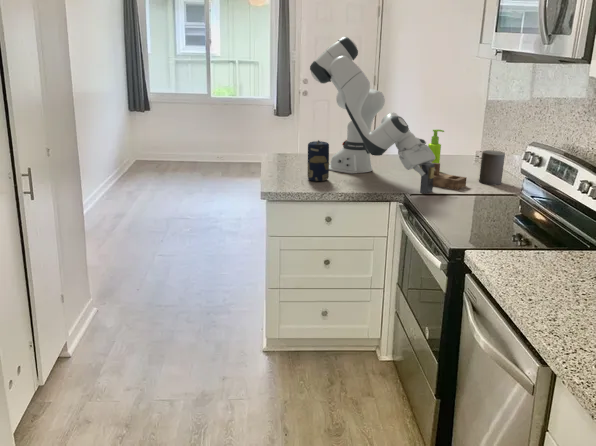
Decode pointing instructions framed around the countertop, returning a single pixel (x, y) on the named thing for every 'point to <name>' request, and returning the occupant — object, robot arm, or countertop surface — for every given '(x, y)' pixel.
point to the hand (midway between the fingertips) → (428, 173)
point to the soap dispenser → (435, 146)
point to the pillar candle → (491, 167)
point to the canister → (318, 161)
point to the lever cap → (427, 178)
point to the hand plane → (447, 179)
